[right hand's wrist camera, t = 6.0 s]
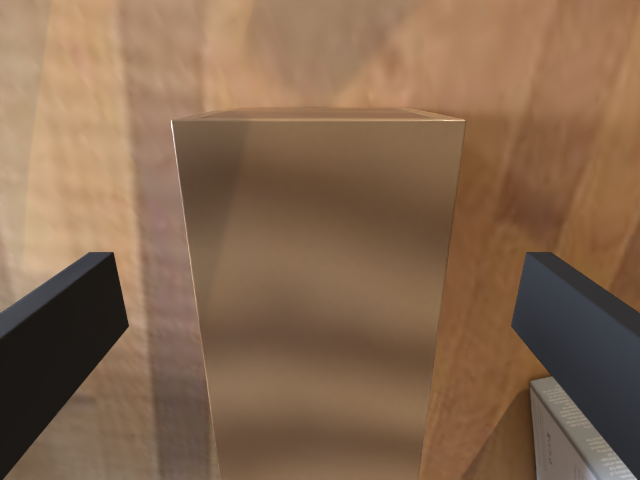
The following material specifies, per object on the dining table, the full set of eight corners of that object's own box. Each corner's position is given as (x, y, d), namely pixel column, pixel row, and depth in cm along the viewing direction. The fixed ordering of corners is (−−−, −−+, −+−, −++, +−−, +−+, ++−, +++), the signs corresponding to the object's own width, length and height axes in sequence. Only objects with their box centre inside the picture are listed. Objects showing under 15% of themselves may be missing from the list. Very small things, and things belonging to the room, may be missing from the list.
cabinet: (387, 376, 32) (416, 497, 22) (250, 376, 32) (222, 497, 22) (409, 107, 24) (467, 119, 15) (228, 107, 24) (170, 119, 15)
